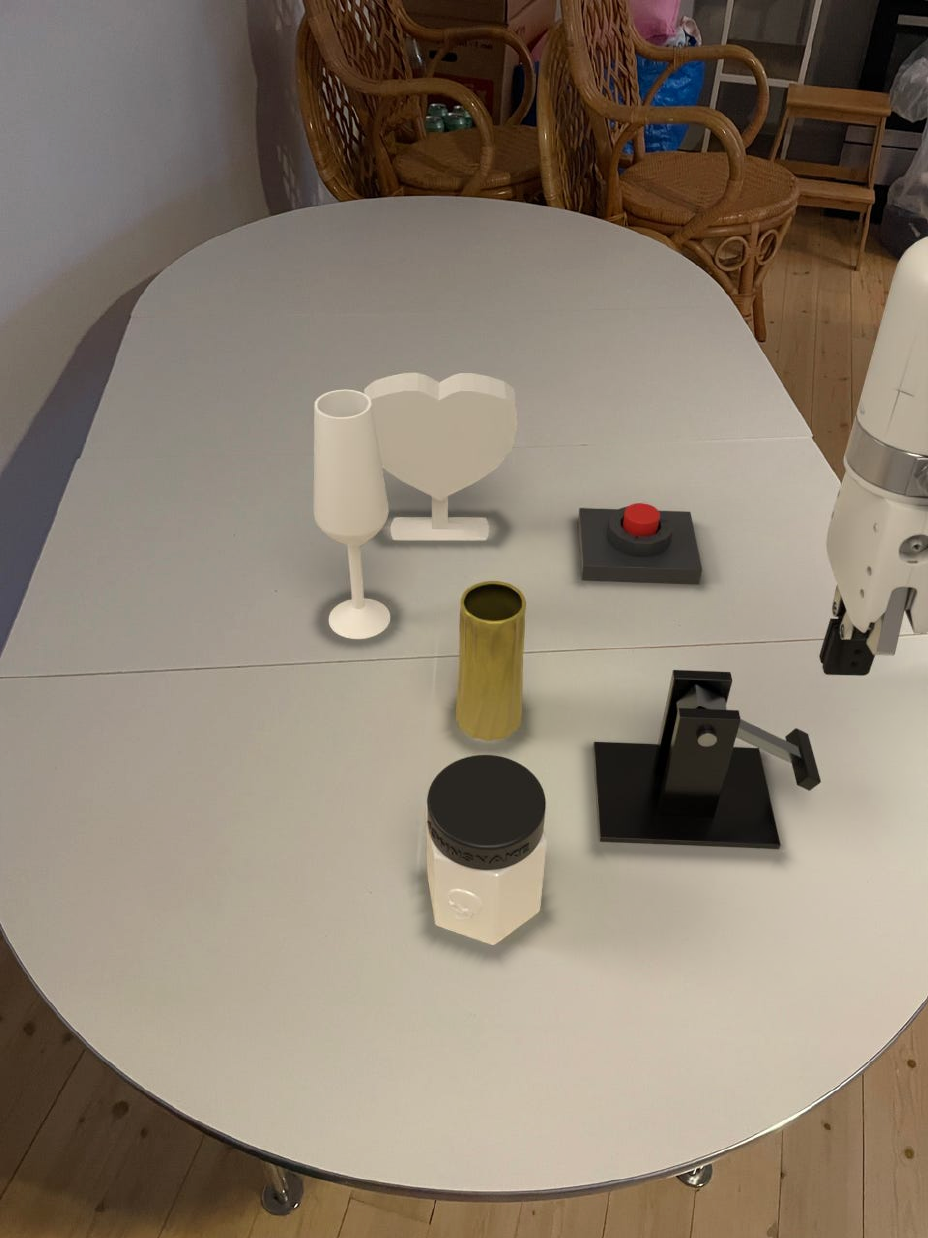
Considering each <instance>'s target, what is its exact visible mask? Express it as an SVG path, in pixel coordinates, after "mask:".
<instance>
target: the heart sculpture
mask: <svg viewBox="0 0 928 1238" xmlns="http://www.w3.org/2000/svg"><path fill="white" fill-rule="evenodd" d="M515 392H516V391H515V389H514V388H513V387H512V386H511V385H510V384H509V383H507V382H505V380H502V379H498V378H495V377H492V376H489V375H485V374H484V375H483V374H478V373H474V372H472V373H471V372H459V373H456V374H452V375H450V376H449V377H447V378H445V379H442V380H441V381H438V380H435V379H434V378H432V377H431V376H429V375H426V374H424V373H421V372H403V373H398V374H393V375H388V376H385V377H382V378H378V379H376V380H373V381H372V382H371V383H370V384H368V385H367V386H366V387H365V388H364V391H363V393H364V394H366V395H367V396H368V397H369V398H370V399H371V402H372V408H373V415H374V421H375V427H376V433H377V440H378V446H379V452H380V458H381V464H382V470H385V471H386V472H388V473H389V474H391V475H392V476H393V477H395V478H396V479H398V480H400V481H401V482H403V483H404V484H407V485H408V486H410V487H412V488H414V489H416V490H418V491H421V492H422V493H425V494H426V495H429V496H430V497H431V516H426V517H425V516H395V517H394V518H393V519H392V522H391V524H390V528H389V530H390V534H391V539H392V540H393V541H487V539H488V537H489V535H490V524H489V522H488V519H487V518H486V517H483V516H482V517H477V516H474V517H473V516H472V517H471V516H469V517H466V516H465V517H464V516H460V517H459V516H457V517H456V516H455V517H453V516H449V511H448V510H449V496H452V495H453V494H455V493H458V492H459V491H461V490H463V489H465V488H467V487H469V486H471V485H473V484H475V483H477V482H478V481H480V480H481V479H483V478H485V477H486V476H487V475H489V474H490V473H492V472H494V471H495V470H496V469H497V468H499V466H500V465H501V464H502V463H503V461H504V460H505V459H506V457H507V456H508V455H509V453H510V452H511V451H512V450H513V448H514V445H515V440H516V437H517V432H518V428H519V419H518V408H517V401H516V399H517V398H516V393H515Z"/></svg>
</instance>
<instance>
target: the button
mask: <svg viewBox="0 0 928 1238" xmlns="http://www.w3.org/2000/svg"><path fill="white" fill-rule="evenodd" d="M627 506H628V507H627ZM627 506H626V507H627V508H626V509H625V513H624V520H623V527H624V529H625V531H626V532H628V533H631V534H633V535H636V536H650V535H653V534H655V533H656V532H657V530H658V525H659V519H660V513H659V511H660V510H659V509H657V508H656V507H655V506H654V505H651V504H648V503H643V502H642V503H641V502H638V503H637V502H636V503H632V504H630V505H627ZM658 510H659V511H658Z"/></svg>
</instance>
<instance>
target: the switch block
mask: <svg viewBox="0 0 928 1238" xmlns="http://www.w3.org/2000/svg"><path fill="white" fill-rule="evenodd" d="M628 506H629V505H627V506H624V507H621V508H594V507H593V508H592V507H579V508H578V517H577V529H578V531H577V532H578V544H579V545H578V549H579V562H580V575H581V582H583V581H584V582H586V581H587V582H611V583H638V584H663V585H664V584H667V585H694V586H697V585H698V586H699V585H700V582H701V578H702V577H701V576H702V572H703V567H702V562H701V558H700V553H699V548H698V543H697V537H696V532H695V528H694V523H693V518H692V513H691V511H682V510H681V511H680V510H659V509H657V510H658V511H659V513H660V519H659V525H658V530H657V532H656V533H655V534H653V535H650V536H636V535H633V534H631V533H628V532H626V531H625V529H624V527H623V520H624V513H625V509H626V508H627V507H628Z"/></svg>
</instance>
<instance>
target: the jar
mask: <svg viewBox="0 0 928 1238" xmlns="http://www.w3.org/2000/svg"><path fill="white" fill-rule="evenodd" d="M546 809H547V800H546V795H545V791H544V788H543V785H542V784H541V782H540V781H539V779H538V778H537V776H536V775H535V774H534V773H533V772H531V771H530V769H528V768H527V767H526V766H524V765H523V764H521V763H519V762H517V761H516V760H513V759H511V758H508V757H504V756H500V755H495V754H477V755H470V756H466V757H463V758H460V759H457V760H454V762H451V763H450V764H448V765H447V766H445V767H444V768H442V770H440V772H438V773H437V775H436V776H435V777H434V779H433V780H432V782H431V784H430V786H429V788H428V792H427V798H426V804H425V826H426V827H425V828H426V829H425V831H426V868H427V869H426V870H427V881H428V887H429V893H430V900H431V906H432V913H433V920H434V924H435V925H436V926H437V927H440V928H442V929H445V930H448V931H451V932H453V933H457V934H460V935H463V936H465V937H467V938H471V939H474V940H477V941H480V942H483V943H486V944H488V945H491V946H494V945H497V944H498V943H500V941H502V940H503V939H505V938H506V937H508V936H509V935H510V934H511V933H513V932H514V931H515V930H517V929H518V928H520V927H522V925H524V924H525V923H527V921H530V919H532V918H533V917H534V916H536V915H537V914H539V913H540V912H541V907H542V906H541V905H542V898H543V897H542V895H543V886H544V876H545V866H546V858H547V857H546V856H547V847H548V840H547V836H546V833H545V832H546V831H545V828H544V827H545V819H546V818H545V817H546Z"/></svg>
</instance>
